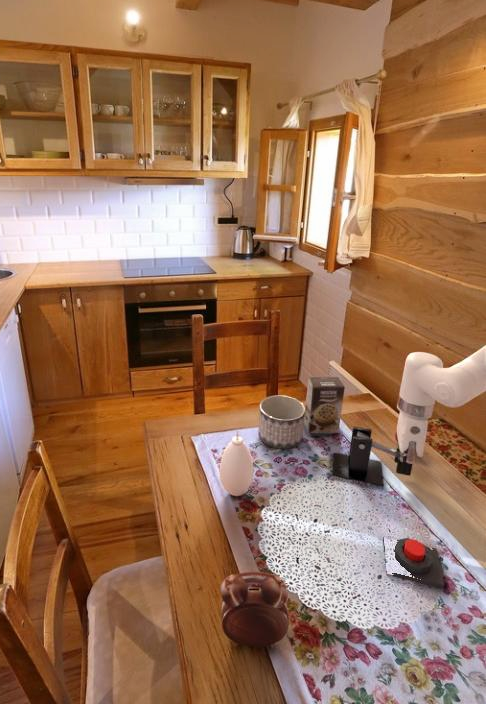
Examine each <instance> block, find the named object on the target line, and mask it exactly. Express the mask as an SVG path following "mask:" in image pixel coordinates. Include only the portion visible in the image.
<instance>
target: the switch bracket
mask: <svg viewBox="0 0 486 704" xmlns="http://www.w3.org/2000/svg"><path fill="white" fill-rule="evenodd" d="M358 431H359V432H361V433H364V434H366V435H369V438H364V437H359V436H356V434H357V432H358ZM372 432H373V431H372V429H371V428H366V427H360V426H352V432H351V439H350V445H349V452H348V454H344V453H338V452H333V457H332V474H331V476H332V477H336V478H341V479H345V480H350V481H355V482H356V481H357V482H360V483H364V484H370V485H375V486H379V487H384V479H383V470H382V462H381V460H376V459H371V458H370V457H371V452H372V448H373V447H372V441H373V438H372Z"/></svg>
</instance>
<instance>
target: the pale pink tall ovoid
mask: <svg viewBox="0 0 486 704" xmlns="http://www.w3.org/2000/svg"><path fill="white" fill-rule="evenodd" d="M254 470H255V469H254V462H253V457H252V453H251V451H250V449H249V447H248V445H247V444H246V443H245V442H244V439H243V438H242V437H241V436H239V429H237V430H236V436H233V437H232V438H231V441H230V442H229V443H228V444H227V446H226V447H225V449H224V451H223V453H222V456H221V459H220V463H219V480H220V483H221V485H222V487H223V489H224V490H225V492H226V493H227V494H229V495H231V496H234V497H239V496H243V495H244V494H245V493H246V492H247V491H248V490H249V488H250V486H251V484H252V482H253V478H254Z"/></svg>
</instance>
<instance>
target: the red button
mask: <svg viewBox="0 0 486 704" xmlns="http://www.w3.org/2000/svg"><path fill="white" fill-rule="evenodd" d="M416 540H417V539H414V540H407V541H406V542H405V546H404V554H405V555H406V557H407V558H409V559H410V560H412V561H414V562H421V561H422V560H423V559H424V555H425V548H424V546H423V545H424V544H423V543H422V542H420V541H419V540H417V541H416ZM418 541H419V542H418ZM421 543H422V544H423V545H422V544H421Z"/></svg>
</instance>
